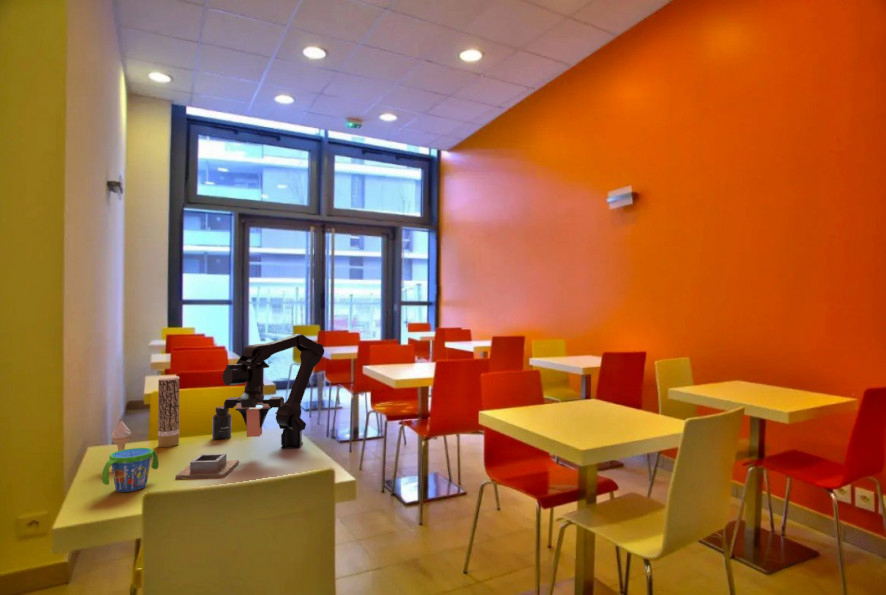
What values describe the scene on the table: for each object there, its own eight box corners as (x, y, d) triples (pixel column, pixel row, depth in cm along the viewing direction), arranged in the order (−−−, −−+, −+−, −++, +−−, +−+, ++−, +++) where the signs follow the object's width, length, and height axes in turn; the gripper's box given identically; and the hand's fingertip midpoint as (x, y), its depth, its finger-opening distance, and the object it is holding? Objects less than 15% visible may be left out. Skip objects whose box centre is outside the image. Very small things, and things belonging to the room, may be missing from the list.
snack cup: (147, 477, 153) (147, 443, 154) (169, 482, 148) (169, 447, 149) (91, 494, 140) (91, 457, 140) (113, 501, 135) (113, 462, 135)
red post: (262, 433, 176) (262, 407, 176) (258, 436, 172) (258, 409, 172) (250, 433, 176) (250, 407, 176) (246, 436, 172) (246, 410, 172)
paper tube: (182, 444, 189) (183, 377, 190) (164, 448, 183) (164, 379, 184) (172, 441, 193) (172, 375, 193) (154, 446, 187) (154, 378, 187)
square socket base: (239, 463, 167) (239, 450, 167) (223, 477, 153) (223, 464, 153) (194, 464, 166) (194, 451, 166) (175, 478, 152) (175, 465, 152)
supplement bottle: (224, 440, 194) (224, 409, 194) (208, 439, 196) (208, 408, 196) (235, 436, 201) (235, 405, 201) (219, 435, 202) (219, 405, 202)
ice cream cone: (109, 469, 160) (110, 422, 160) (111, 465, 165) (112, 418, 165) (130, 467, 163) (130, 420, 163) (132, 462, 168) (132, 416, 168)
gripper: (217, 385, 165) (217, 434, 165) (276, 385, 167) (276, 433, 167) (229, 380, 177) (229, 426, 176) (284, 380, 178) (284, 425, 178)
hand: (254, 427), depth 174 cm, fingers closed on red post, 4 cm apart
